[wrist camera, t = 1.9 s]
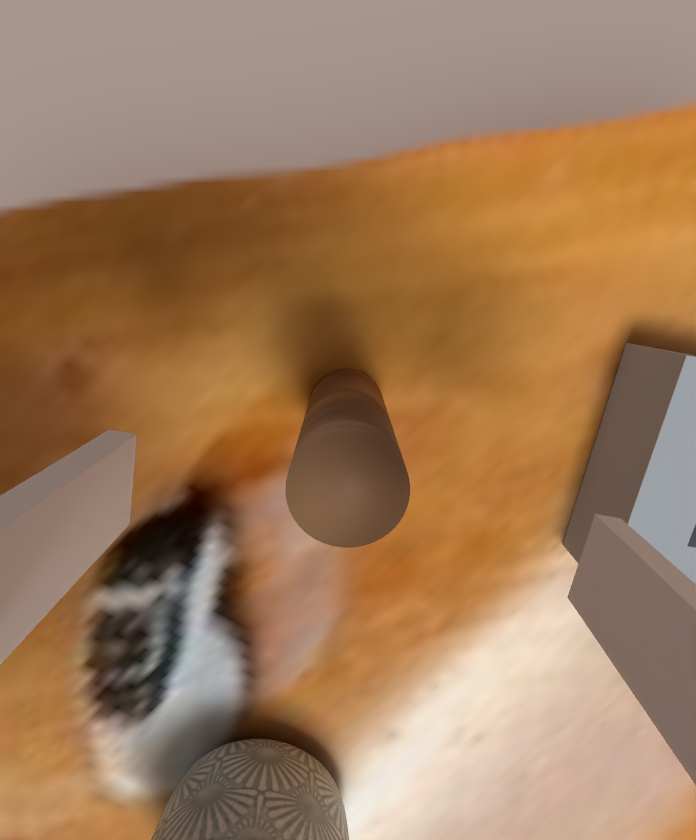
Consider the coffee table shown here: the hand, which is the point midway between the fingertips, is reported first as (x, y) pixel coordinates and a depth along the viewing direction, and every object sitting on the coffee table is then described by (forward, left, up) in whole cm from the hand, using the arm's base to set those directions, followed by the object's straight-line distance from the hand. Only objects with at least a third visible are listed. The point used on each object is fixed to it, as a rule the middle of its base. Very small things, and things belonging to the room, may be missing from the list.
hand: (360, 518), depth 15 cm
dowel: (0, 0, -14) cm, 14 cm away
